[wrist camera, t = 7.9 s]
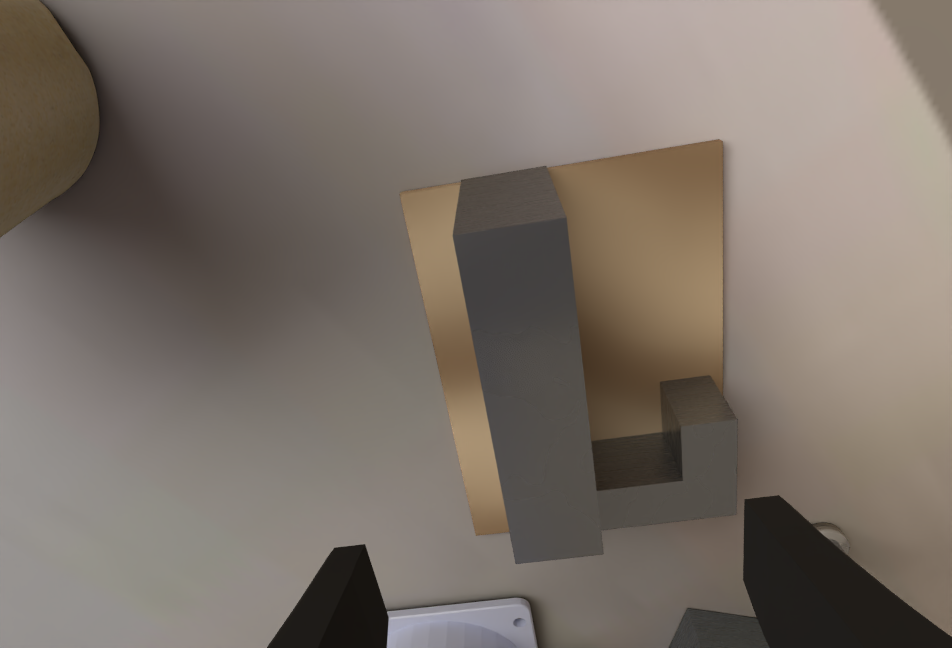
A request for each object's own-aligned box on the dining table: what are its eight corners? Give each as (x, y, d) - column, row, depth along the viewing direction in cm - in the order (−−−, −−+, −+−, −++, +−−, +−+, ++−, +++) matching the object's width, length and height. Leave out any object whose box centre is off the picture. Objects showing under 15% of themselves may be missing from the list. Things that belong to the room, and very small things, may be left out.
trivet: (720, 501, 23) (722, 507, 23) (476, 529, 24) (476, 535, 24) (718, 139, 17) (722, 141, 17) (401, 191, 18) (399, 194, 18)
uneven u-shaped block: (461, 180, 18) (452, 235, 13) (707, 139, 17) (785, 182, 13) (516, 487, 23) (523, 604, 18) (710, 463, 22) (768, 579, 17)
